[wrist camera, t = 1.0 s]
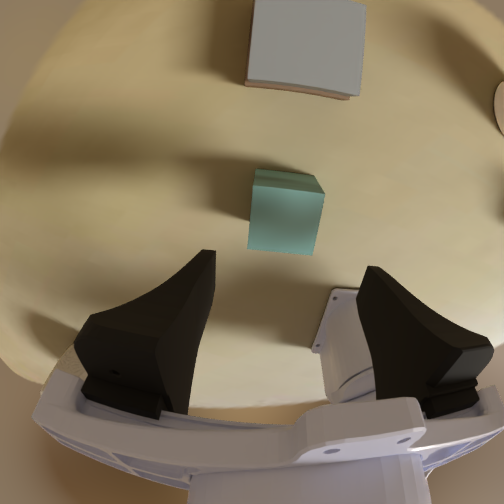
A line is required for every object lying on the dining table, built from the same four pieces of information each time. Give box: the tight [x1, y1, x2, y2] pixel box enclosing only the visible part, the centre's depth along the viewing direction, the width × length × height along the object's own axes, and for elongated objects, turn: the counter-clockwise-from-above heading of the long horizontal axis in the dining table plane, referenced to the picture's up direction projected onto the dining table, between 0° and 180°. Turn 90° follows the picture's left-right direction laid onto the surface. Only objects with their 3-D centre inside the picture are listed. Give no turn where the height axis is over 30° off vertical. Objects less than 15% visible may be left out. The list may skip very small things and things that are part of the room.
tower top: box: [248, 0, 366, 96], centre depth 13 cm, size 6×6×2 cm
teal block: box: [247, 169, 325, 255], centre depth 20 cm, size 4×4×4 cm
